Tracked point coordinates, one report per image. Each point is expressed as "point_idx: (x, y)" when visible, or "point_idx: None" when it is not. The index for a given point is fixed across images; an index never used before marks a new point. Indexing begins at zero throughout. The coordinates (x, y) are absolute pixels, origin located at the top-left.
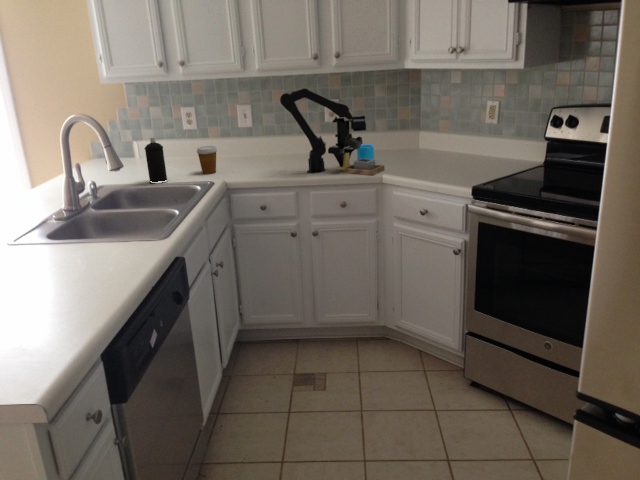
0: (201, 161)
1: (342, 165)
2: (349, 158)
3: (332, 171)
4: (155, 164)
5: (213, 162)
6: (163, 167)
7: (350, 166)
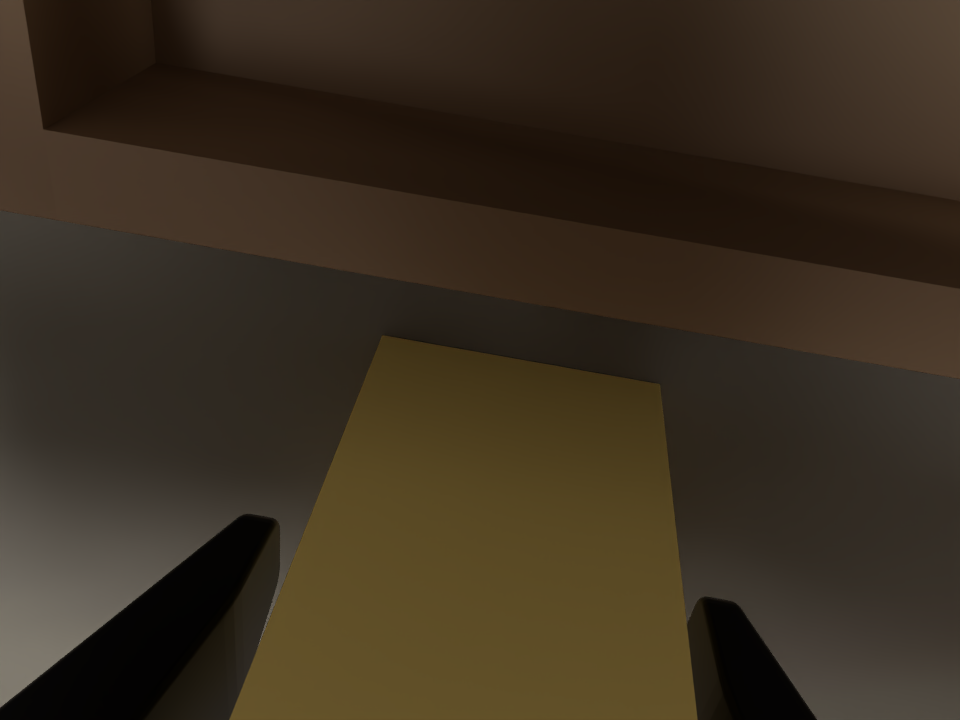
0: None
1: (759, 644)
2: (85, 690)
3: None
4: None
5: None
6: None
7: (859, 297)
